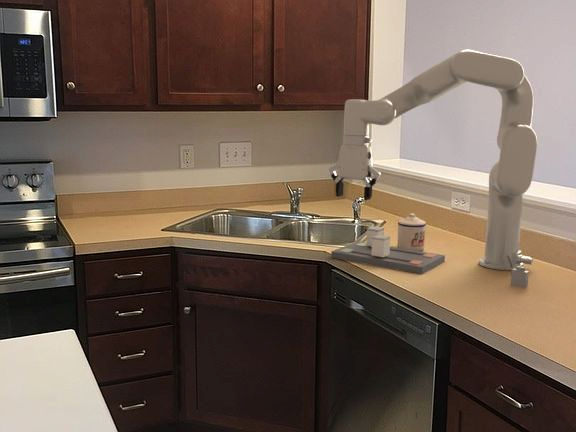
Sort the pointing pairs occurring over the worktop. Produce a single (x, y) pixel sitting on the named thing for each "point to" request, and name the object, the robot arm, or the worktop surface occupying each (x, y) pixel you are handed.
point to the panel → (390, 258)
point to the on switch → (373, 234)
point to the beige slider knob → (380, 245)
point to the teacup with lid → (411, 233)
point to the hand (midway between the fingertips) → (353, 197)
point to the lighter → (516, 273)
